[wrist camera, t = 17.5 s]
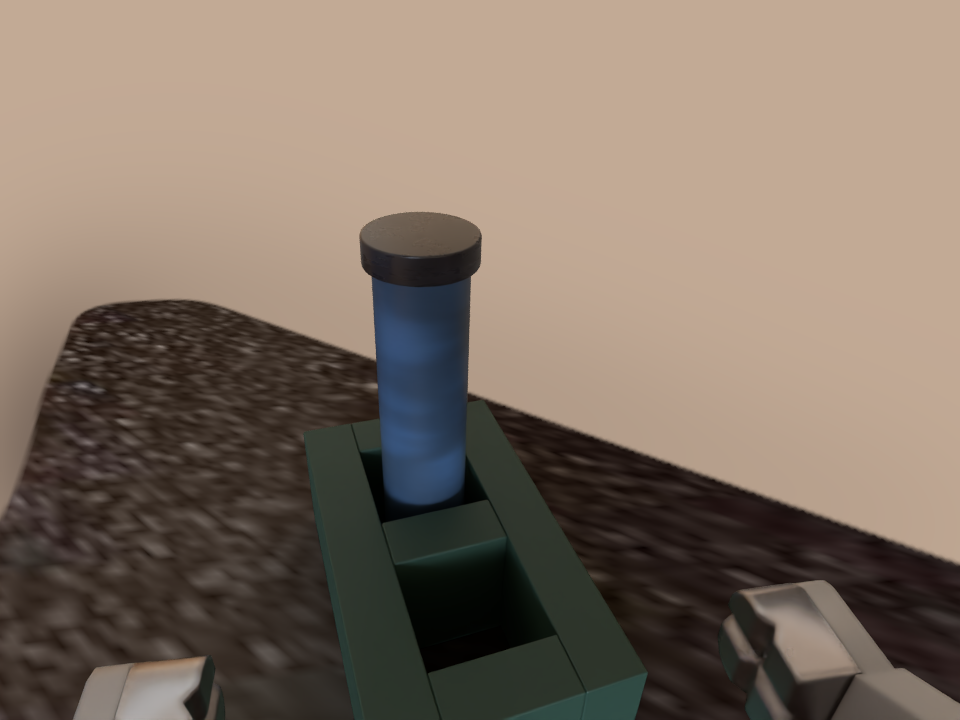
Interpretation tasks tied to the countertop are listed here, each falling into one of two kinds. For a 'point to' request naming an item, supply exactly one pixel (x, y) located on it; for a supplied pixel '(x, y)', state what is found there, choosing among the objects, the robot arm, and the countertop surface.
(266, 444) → the countertop surface
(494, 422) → the holder
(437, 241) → the handle
